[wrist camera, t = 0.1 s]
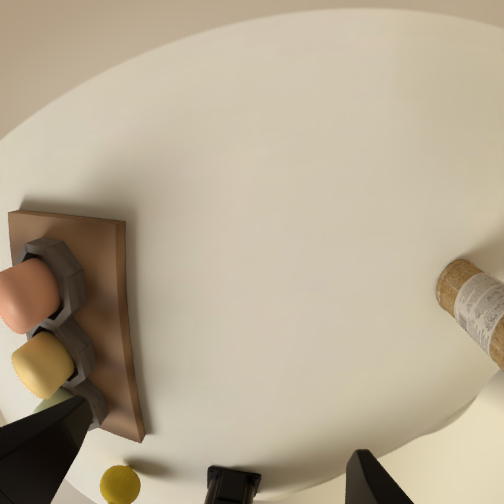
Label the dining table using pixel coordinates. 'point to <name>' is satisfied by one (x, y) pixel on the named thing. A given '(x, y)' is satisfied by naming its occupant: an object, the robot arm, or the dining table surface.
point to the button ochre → (43, 364)
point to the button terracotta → (28, 295)
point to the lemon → (120, 485)
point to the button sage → (54, 399)
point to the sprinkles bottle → (475, 305)
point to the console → (87, 309)
